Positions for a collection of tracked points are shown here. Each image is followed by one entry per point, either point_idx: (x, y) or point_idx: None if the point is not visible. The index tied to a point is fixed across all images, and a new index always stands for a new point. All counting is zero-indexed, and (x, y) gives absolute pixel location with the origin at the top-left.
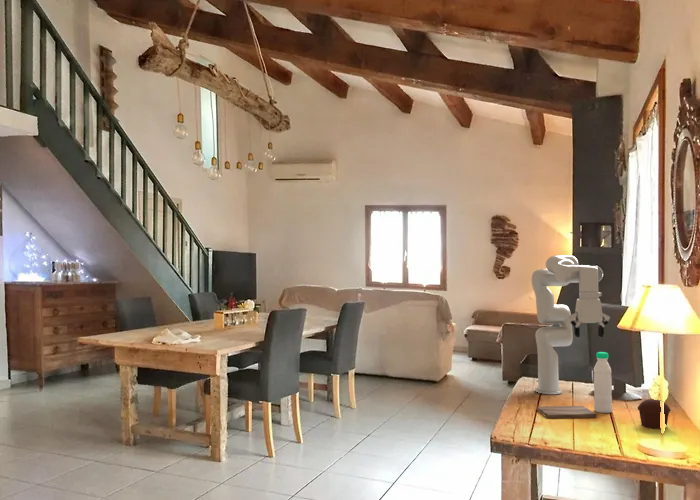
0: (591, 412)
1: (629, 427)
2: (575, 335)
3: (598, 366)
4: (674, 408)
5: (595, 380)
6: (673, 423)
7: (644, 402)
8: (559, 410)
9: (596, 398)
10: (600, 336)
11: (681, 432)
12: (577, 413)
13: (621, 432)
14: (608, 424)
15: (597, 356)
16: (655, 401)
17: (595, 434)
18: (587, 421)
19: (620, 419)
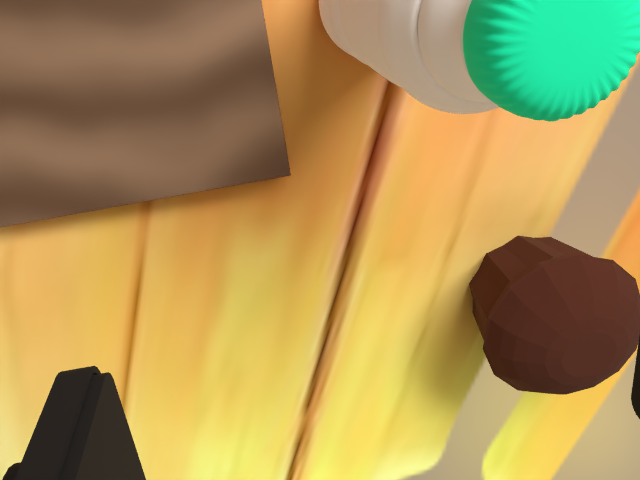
0: (269, 138)
1: (398, 326)
2: (61, 383)
3: (428, 79)
4: None
5: (363, 43)
6: (634, 228)
7: (528, 362)
8: (68, 108)
9: (339, 37)
10: (634, 379)
11: None
12: (178, 174)
13: (334, 405)
14: (315, 291)
15: (470, 65)
16: (582, 379)
17: (213, 450)
18: (220, 250)
19: (410, 185)
